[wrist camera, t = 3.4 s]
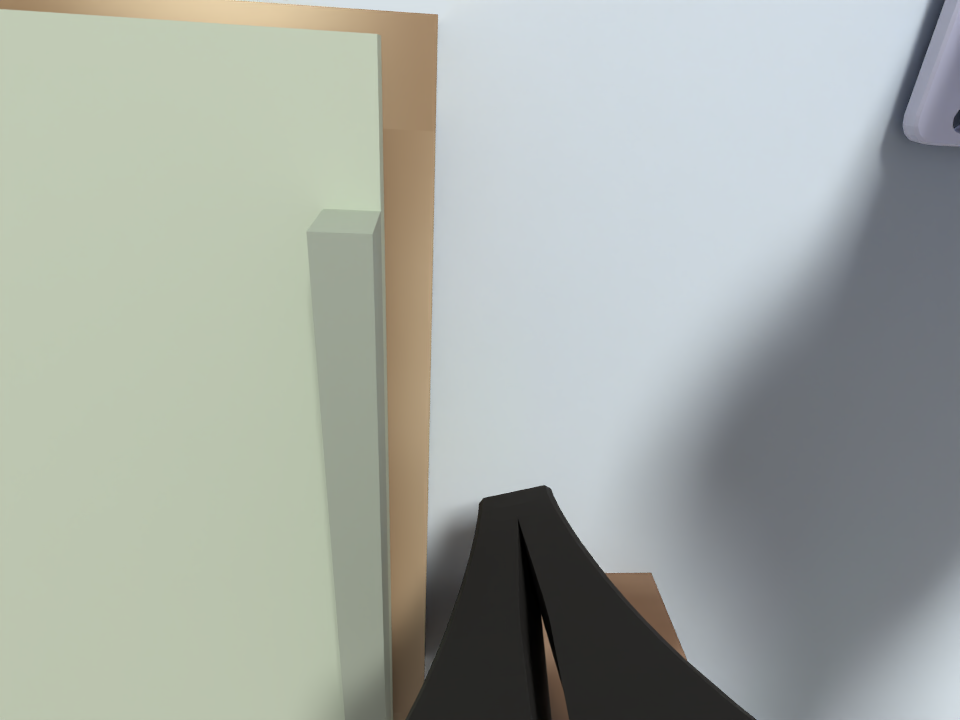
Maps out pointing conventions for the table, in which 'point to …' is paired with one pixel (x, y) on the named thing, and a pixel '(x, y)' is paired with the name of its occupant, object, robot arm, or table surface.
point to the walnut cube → (650, 607)
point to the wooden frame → (405, 264)
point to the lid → (192, 372)
